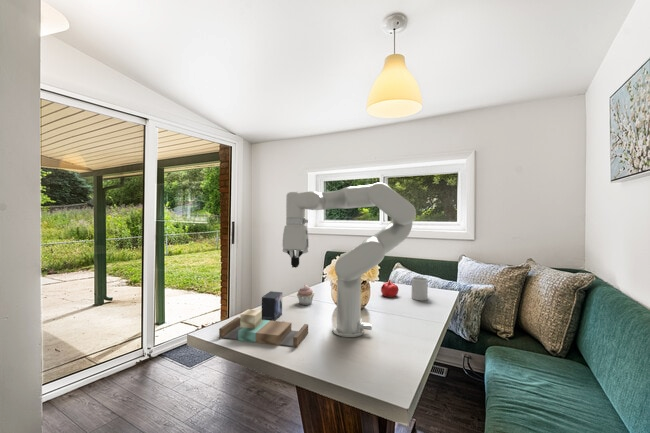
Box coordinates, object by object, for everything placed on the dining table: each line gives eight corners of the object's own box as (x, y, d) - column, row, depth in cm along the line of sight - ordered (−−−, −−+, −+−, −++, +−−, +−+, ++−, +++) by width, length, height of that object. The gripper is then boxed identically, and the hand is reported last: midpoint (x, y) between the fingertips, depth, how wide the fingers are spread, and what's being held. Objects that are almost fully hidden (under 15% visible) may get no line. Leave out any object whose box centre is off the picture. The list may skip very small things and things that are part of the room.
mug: (424, 301, 163) (424, 281, 163) (408, 298, 169) (409, 279, 168) (431, 297, 173) (432, 277, 173) (417, 294, 178) (417, 275, 178)
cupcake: (300, 300, 165) (300, 281, 164) (316, 301, 162) (316, 282, 162) (293, 305, 156) (293, 285, 155) (311, 306, 153) (311, 287, 153)
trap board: (308, 333, 120) (308, 324, 120) (297, 347, 107) (297, 337, 107) (237, 325, 127) (237, 317, 127) (219, 337, 115) (219, 328, 115)
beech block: (261, 323, 121) (261, 310, 121) (254, 328, 115) (254, 315, 115) (247, 321, 122) (247, 309, 122) (240, 327, 116) (240, 314, 116)
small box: (274, 322, 132) (274, 298, 131) (260, 321, 133) (260, 297, 133) (283, 314, 142) (283, 291, 142) (269, 313, 143) (269, 290, 143)
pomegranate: (401, 295, 175) (402, 279, 175) (392, 299, 168) (393, 282, 168) (386, 292, 182) (386, 276, 182) (377, 295, 174) (377, 279, 174)
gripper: (315, 222, 127) (315, 266, 127) (281, 221, 130) (281, 264, 130) (310, 222, 119) (310, 269, 120) (274, 222, 123) (274, 267, 123)
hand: (295, 266), depth 125 cm, fingers closed
